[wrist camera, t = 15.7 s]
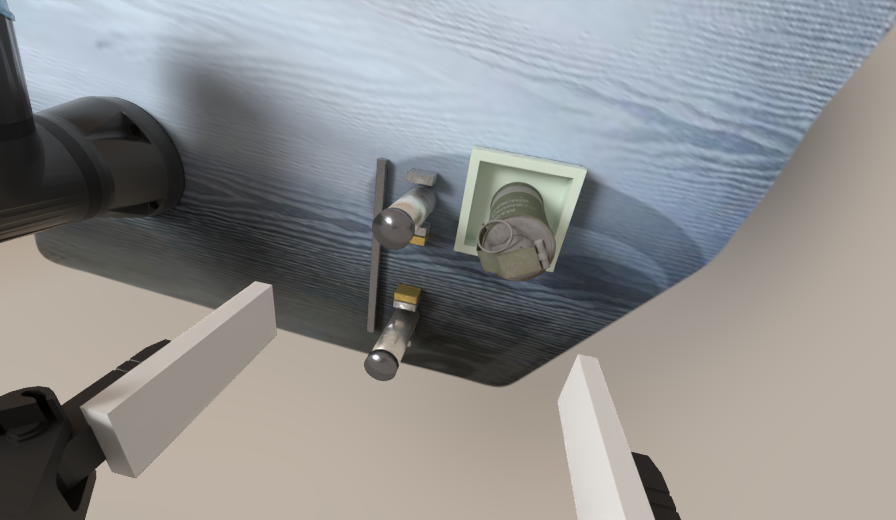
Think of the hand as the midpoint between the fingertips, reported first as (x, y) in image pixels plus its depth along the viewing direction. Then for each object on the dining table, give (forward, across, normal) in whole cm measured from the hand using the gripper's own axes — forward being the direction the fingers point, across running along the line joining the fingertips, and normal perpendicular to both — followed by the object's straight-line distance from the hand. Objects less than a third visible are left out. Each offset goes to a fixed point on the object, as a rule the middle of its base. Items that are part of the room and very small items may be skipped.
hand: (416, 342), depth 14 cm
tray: (+27, +5, -1) cm, 28 cm away
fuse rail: (+28, -8, -11) cm, 31 cm away
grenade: (+27, +5, -1) cm, 27 cm away
